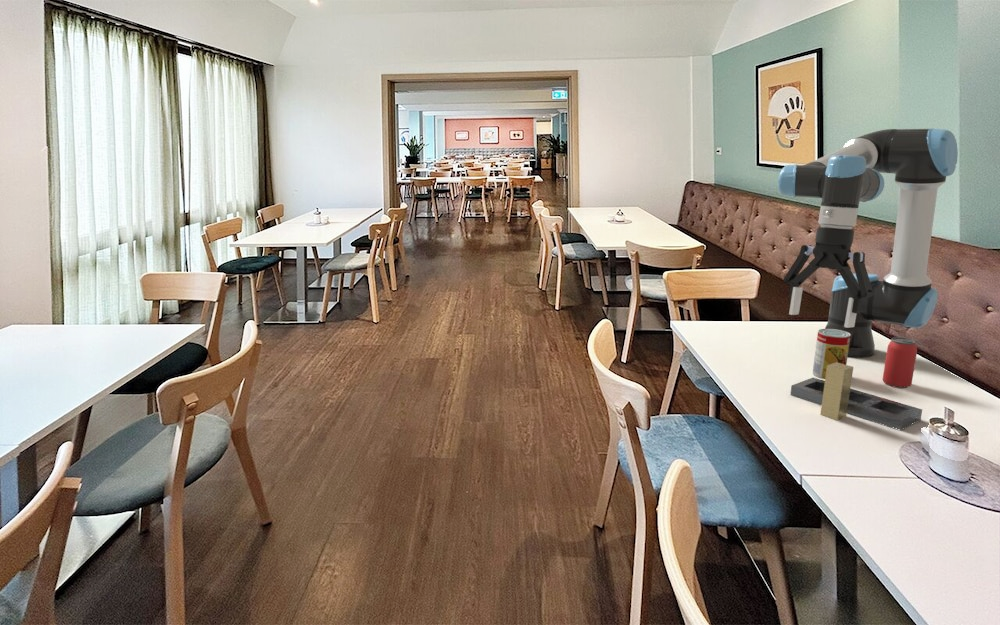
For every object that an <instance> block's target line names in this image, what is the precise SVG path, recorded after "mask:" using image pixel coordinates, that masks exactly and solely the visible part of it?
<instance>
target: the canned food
mask: <svg viewBox="0 0 1000 625" xmlns="http://www.w3.org/2000/svg"><path fill="white" fill-rule="evenodd" d="M850 336H851V334H850V333H848V332H846V331H842V330H837V329H825V328H820V329H818V330H817V337H816V342H815V343H816V344H815V351H814V357H813V359H814V360H813V366H812V367H813V368H812V376H814V377H815V378H816V377H817V378H818V379H821V380H825V377H826V370H827V365H830V364H833V363H835V362H837V363H841V364H844V365H848V364H847V362H848V357H849V356H848V350H849V343H850Z"/></svg>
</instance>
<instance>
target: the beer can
mask: <svg viewBox="0 0 1000 625" xmlns="http://www.w3.org/2000/svg"><path fill="white" fill-rule="evenodd" d="M885 355H886V356H885V361H884V367H883V374H882V381H883V383H884V384H885V385H888V386H889V387H894V388H898V389H901V388H902V389H903V388H908V387H909V388H910V387H911V386H912V383H913V378H914V372H915V367H916V366H915V365H916V359H917V355H918V346H917V341H916V340H914V339H912V338H909V337H901V336H897V337H896V336H895V337H892V338H891V340H890V341H889V343H888V345H887V348H886V354H885Z"/></svg>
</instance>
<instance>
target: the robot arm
mask: <svg viewBox="0 0 1000 625" xmlns="http://www.w3.org/2000/svg"><path fill="white" fill-rule="evenodd" d="M957 164H958V143H957V139H956V135H954V133H953V132H952V131H951V130H948V129H940V128H901V129H899V128H898V129H897V128H888V129H887V128H886V129H882V130H881V129H880V130H877V131H873V132H870V133H866V134H863V135H860V136H857V137H855V138H853V139H851V140H849V141H847V142H846V143H845V144H844V145H843V147H842V148H839V149H838V150H836V151H833V152H831V153H828V154H827V155H826V154H825V156H821V157H819V158H817V159H815V160H812V161H810V162H808V163H806V164H792V165H791V164H788V165H785V166H784V167H782V168H781V170H780V172H779V175H778V178H777V179H778V181H777V187H778V191H779V193H780V194H781V195H782V196H789V197H793V198H796V197H798V198H811V199H812V198H814V199H815V198H816V199H821V203H820V207H819V208H820V209H819V215H818V221H817V222H818V224H819V225H820V226H817V227H816V233H815V239H814V241H815V245H814V246H812V245H811V244H803V245H801V247H800V250H799V254H798V256H797V257H796V258H795V260H794V261H793V263H792V265H791V266H790V268H789V270H788V271H787V273H786V274H785V275H784V278H783V282H784V283H787V284H788V285H789V286H790V287H789V294H788V299H789V300H790V305H789V313H788V315H791V316H797V315H799V314H800V308H801V302H802V297H803V296H802V295H803V290H804V287H803V286H802V284H803V283H804V282H805V281H806V280H807V279H809V277H811V276H812V275H813V274H814V273H815V272H816V271H817V270H818V269H820V268H821V269H829V270H836V271H837V272H838V273H839V274H840V275H837V276H836V277H834V280H833V283H832V284H833V285H832V289H831V296H830V303H829V304H830V305H829V310H828V311H829V312H828V320H827V323H826V325H825V327H824V329H837V330H842V331H846V332H848V333H850V334H851V336H850V343H849V350H848V357H856V358H858V357H859V358H861V357H862V358H863V357H870V356H872V355H874V354H875V348H876V347H875V340H874V336H873V332H872V323H873V322H874V321H875V322H880V323H885V324H889V325H896V326H899V327H900V326H901V327H903V328H913V329H921V328H922V327H924V326H926V325H927V323H928V322H929V321H930V318H931V317H932V315H933V312H934V311H935V308H936V305H937V301H938V297H939V291H938V289H937V288H934V287H932V281H933V280H932V279H931V277H929V276H928V275H927V270H928V263H929V256H930V248H931V242H932V240H931V239H932V233H933V228H934V227H933V226H934V220H935V219H934V217H935V213H936V212H935V211H936V204H937V197H938V189H939V188H940V187H941V186H942V185H943V184H944V183H946V180H947V177H949V176H951V175H953V174H954V173H955V170H956V168H957V166H956V165H957ZM882 173H883V174H895V176H894V183H895V184H897V185H898V187H899V188H900V189H899V197H898V198H899V199H898V206H897V214H896V223H895V230H894V231H895V232H894V240H893V241H894V242H893V248H892V249H893V250H892V255H891V256H892V257H891V265H890V266H891V267H890V272H889V273H888V274H886V275H885V276H884V277H883V280H880V276H879V275H878V274H874V273H868V269H867V267H866V264H865V262H866V261H865V260H866V254H865V252H864V251H856V252H852V250H851V248H852V246H853V241H854V237H855V230H854V229H853V228H854V227H856V225H857V219H858V211H859V207H860V206H859V205H860V203H861V202H862V203H866V202H870V201H873V200H876V199H877V198H878V197H880V195H881V194H882V193H883V191H884V188H885V179H884V177H883V175H882ZM812 255H813V256H814V258H813V259H812V260H811V261H810V262H809V263H808V265H807V266H805V264H806V263H807V262H808V261H809V258H810V256H812ZM849 260H850V261H851V262H852V265H853V266H852V267H853V269H854V272H855V273H853V271H852V268H851V266H850V264H849V262H848V261H849ZM804 266H805V267H804ZM803 267H804V269H803ZM801 270H802V271H801Z"/></svg>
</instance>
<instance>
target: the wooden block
mask: <svg viewBox="0 0 1000 625" xmlns="http://www.w3.org/2000/svg"><path fill="white" fill-rule="evenodd" d="M853 372H854V366H853V365H852V366H851V365H848V364H846V365H844V364H841V363H837V362H835V363H833V364H830V365H827V370H826V377H825V379H824V381H825V384H824V392H823V399H822V405H820V407H821V408H820V413H819V414H820V415H821V416H823V417H825V418H829V419H832V420H834V421H839V420H842V419H843V417H844V418H846V417H847V415H848V413H847V408H848V401H849V394H850V388H851V386H852V380H853ZM841 418H842V419H841Z"/></svg>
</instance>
